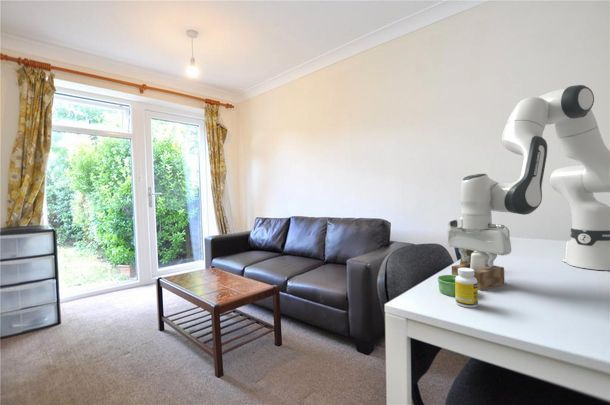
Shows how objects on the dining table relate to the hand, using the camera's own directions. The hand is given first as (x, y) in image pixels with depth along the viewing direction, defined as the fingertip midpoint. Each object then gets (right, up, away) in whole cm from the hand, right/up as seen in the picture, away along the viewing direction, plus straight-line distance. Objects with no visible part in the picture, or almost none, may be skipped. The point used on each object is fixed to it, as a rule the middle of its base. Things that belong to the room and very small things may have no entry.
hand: (477, 263), depth 96 cm
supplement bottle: (-13, -8, -17) cm, 23 cm away
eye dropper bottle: (+1, -4, 0) cm, 4 cm away
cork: (+7, -6, +17) cm, 19 cm away
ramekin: (-12, -8, -7) cm, 16 cm away
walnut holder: (0, -7, 0) cm, 7 cm away
